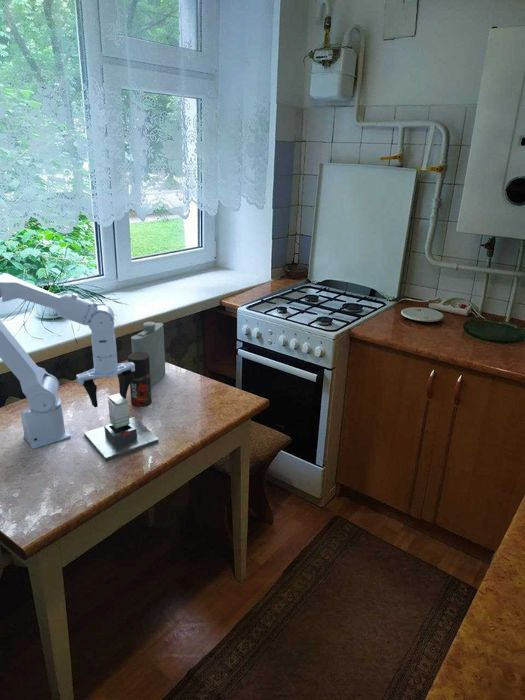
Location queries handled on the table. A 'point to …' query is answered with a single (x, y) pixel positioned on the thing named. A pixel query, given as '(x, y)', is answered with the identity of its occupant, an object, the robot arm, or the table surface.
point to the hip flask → (152, 348)
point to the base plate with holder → (120, 439)
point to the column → (118, 410)
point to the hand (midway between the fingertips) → (109, 401)
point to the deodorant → (140, 380)
